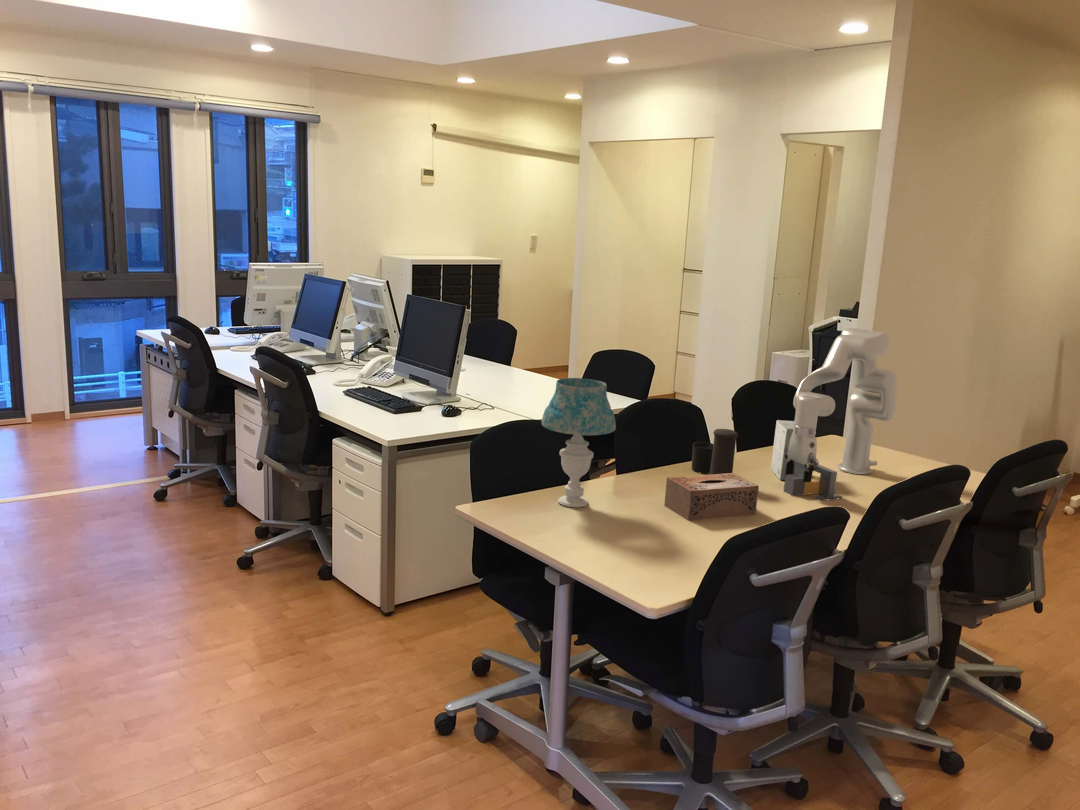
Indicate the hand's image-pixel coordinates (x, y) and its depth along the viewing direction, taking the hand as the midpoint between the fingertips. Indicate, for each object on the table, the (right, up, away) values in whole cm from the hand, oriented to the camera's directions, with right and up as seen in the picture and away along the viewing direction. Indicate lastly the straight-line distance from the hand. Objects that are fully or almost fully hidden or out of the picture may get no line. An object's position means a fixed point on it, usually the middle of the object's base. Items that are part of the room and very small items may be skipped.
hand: (797, 477), depth 303 cm
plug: (+4, -5, +3) cm, 7 cm away
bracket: (+7, -5, +4) cm, 10 cm away
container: (-26, -3, +8) cm, 27 cm away
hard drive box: (+2, -1, +24) cm, 24 cm away
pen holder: (-29, +1, +23) cm, 37 cm away
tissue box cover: (-36, -9, -23) cm, 43 cm away
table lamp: (-81, -6, -25) cm, 85 cm away
